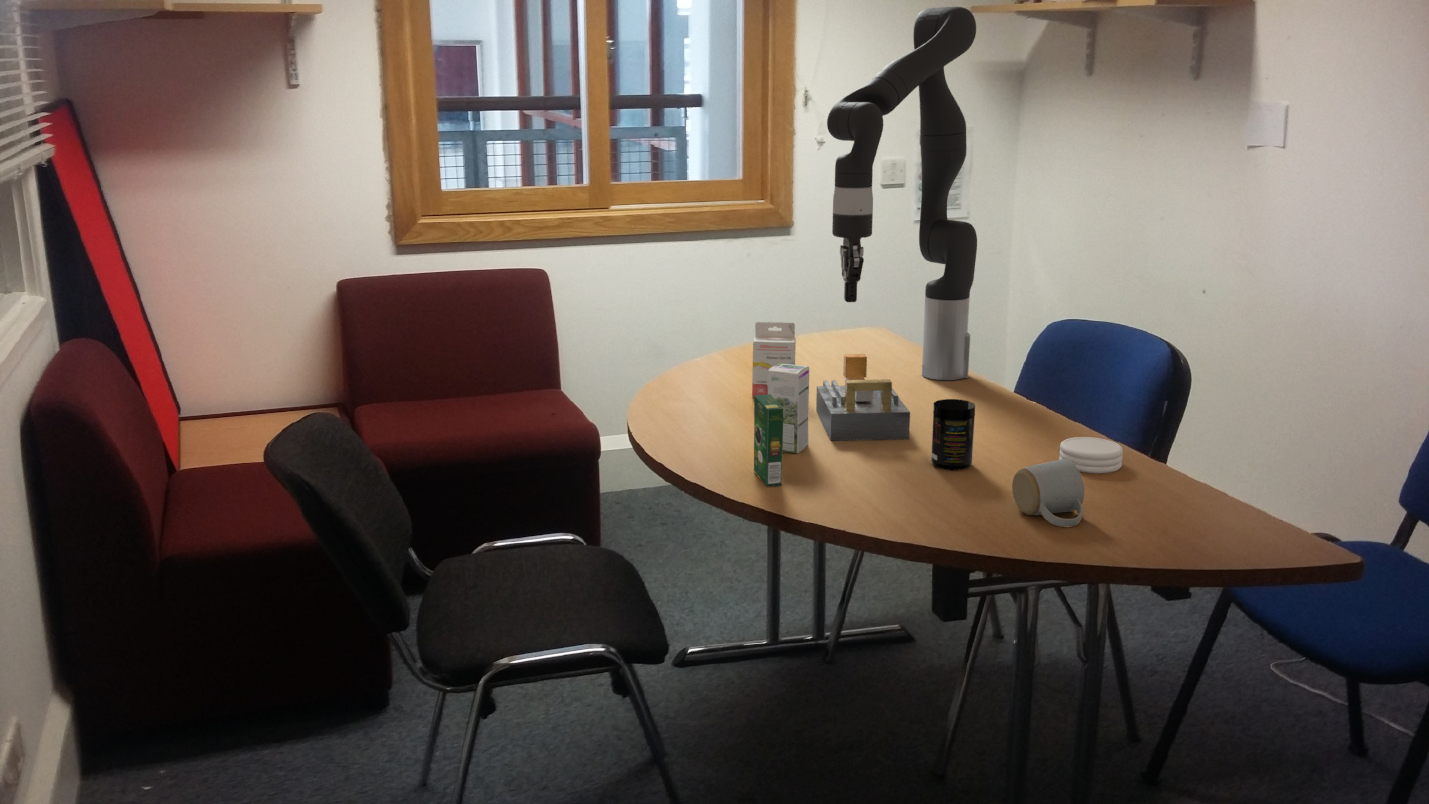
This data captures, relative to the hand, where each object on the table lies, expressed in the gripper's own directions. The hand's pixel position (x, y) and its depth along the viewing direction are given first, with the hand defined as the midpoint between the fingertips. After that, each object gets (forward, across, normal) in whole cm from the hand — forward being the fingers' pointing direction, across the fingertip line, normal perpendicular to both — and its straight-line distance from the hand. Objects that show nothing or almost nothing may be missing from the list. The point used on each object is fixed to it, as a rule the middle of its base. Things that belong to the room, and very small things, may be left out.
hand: (850, 301), depth 224 cm
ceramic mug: (+21, -62, -20) cm, 69 cm away
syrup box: (+21, -28, +15) cm, 38 cm away
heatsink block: (+20, -15, 0) cm, 25 cm away
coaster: (+21, -40, -34) cm, 56 cm away
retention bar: (+15, -12, 0) cm, 19 cm away
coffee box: (+21, -44, +20) cm, 53 cm away
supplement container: (+21, -39, -11) cm, 45 cm away
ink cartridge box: (+21, +7, +14) cm, 26 cm away
